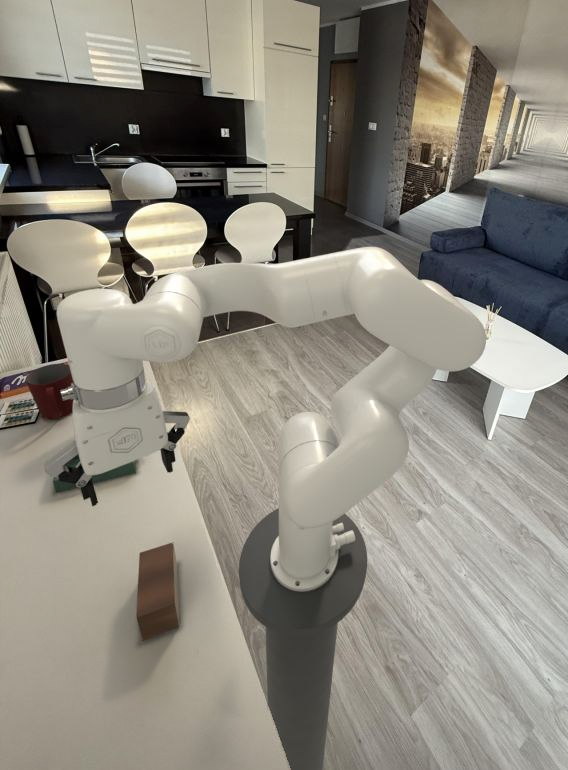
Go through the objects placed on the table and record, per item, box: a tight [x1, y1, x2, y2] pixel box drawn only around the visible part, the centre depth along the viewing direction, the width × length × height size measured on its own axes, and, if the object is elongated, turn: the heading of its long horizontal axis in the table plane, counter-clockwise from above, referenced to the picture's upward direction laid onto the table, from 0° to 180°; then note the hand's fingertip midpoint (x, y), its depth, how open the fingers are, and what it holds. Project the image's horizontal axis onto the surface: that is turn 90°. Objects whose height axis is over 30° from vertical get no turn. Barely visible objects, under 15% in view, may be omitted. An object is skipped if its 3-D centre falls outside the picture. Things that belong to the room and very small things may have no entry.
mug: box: [25, 363, 74, 421], centre depth 97 cm, size 12×9×11 cm
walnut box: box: [135, 541, 180, 642], centre depth 62 cm, size 10×5×6 cm, turn 24°
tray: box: [51, 454, 138, 493], centre depth 85 cm, size 14×9×3 cm, turn 114°
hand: (132, 481), depth 57 cm, fingers open, 9 cm apart
